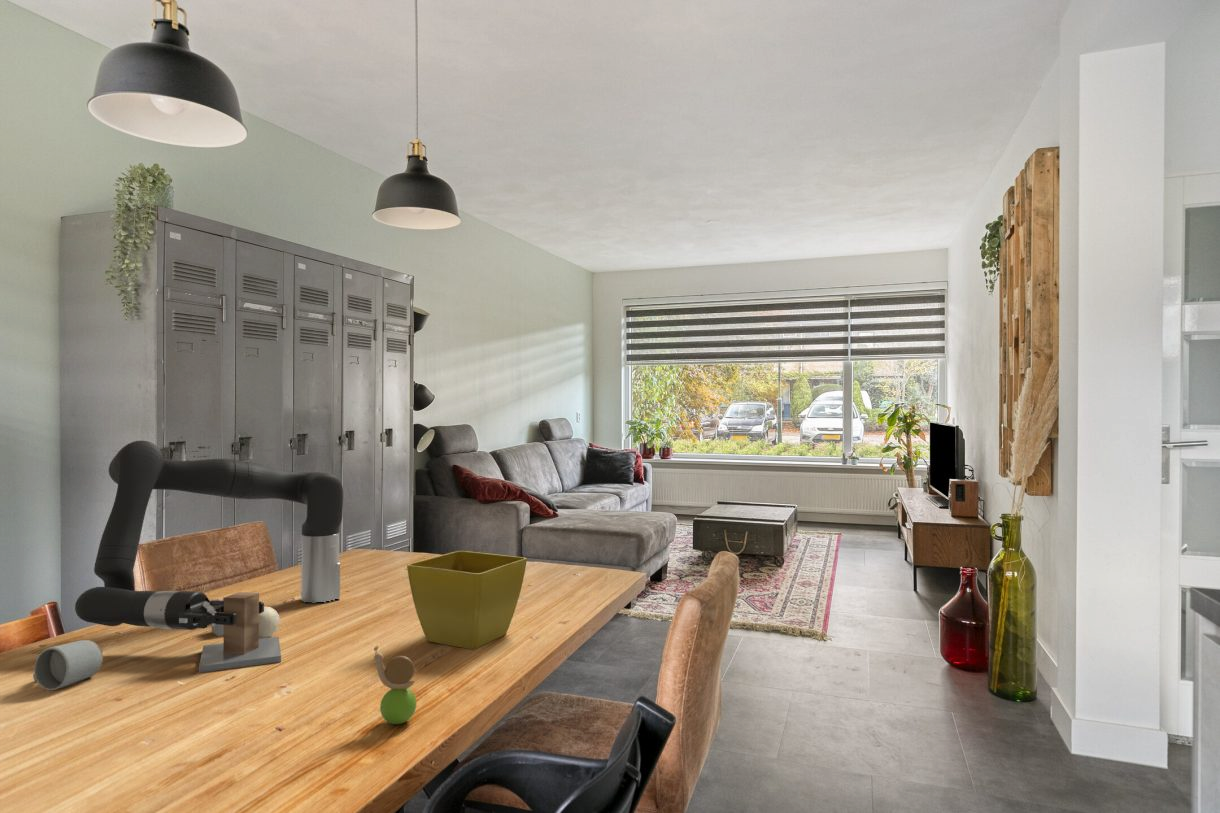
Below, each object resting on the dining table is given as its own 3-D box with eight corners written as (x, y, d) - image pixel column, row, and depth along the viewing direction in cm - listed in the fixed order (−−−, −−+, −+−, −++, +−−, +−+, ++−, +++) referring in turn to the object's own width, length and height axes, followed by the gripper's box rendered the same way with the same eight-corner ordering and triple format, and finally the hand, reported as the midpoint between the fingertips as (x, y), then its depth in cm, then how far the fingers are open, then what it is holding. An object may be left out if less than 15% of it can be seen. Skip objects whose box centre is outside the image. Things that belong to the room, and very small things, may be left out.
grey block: (235, 628, 165) (236, 610, 165) (243, 632, 161) (243, 614, 161) (211, 632, 161) (211, 614, 161) (218, 637, 158) (218, 619, 158)
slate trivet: (278, 642, 154) (278, 636, 154) (281, 661, 141) (281, 655, 141) (203, 651, 148) (203, 645, 148) (198, 672, 135) (198, 666, 135)
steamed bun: (286, 633, 160) (286, 603, 160) (267, 643, 153) (268, 611, 153) (257, 632, 161) (258, 602, 161) (237, 642, 154) (238, 610, 154)
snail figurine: (378, 716, 116) (378, 641, 116) (419, 715, 116) (419, 640, 116) (369, 731, 110) (369, 652, 110) (412, 729, 111) (412, 650, 111)
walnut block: (238, 646, 147) (238, 592, 147) (258, 647, 146) (259, 592, 147) (223, 653, 143) (223, 597, 143) (244, 654, 142) (244, 598, 142)
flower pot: (528, 631, 162) (528, 556, 162) (478, 657, 144) (479, 573, 145) (459, 621, 170) (459, 550, 170) (404, 644, 152) (404, 564, 153)
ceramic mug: (106, 676, 133) (106, 636, 134) (66, 692, 126) (66, 649, 126) (60, 673, 135) (60, 633, 136) (18, 689, 128) (18, 646, 128)
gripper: (149, 599, 140) (225, 603, 137) (201, 583, 154) (271, 586, 152) (149, 638, 140) (225, 642, 137) (201, 618, 154) (271, 622, 151)
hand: (249, 613), depth 144 cm, fingers open, 8 cm apart
